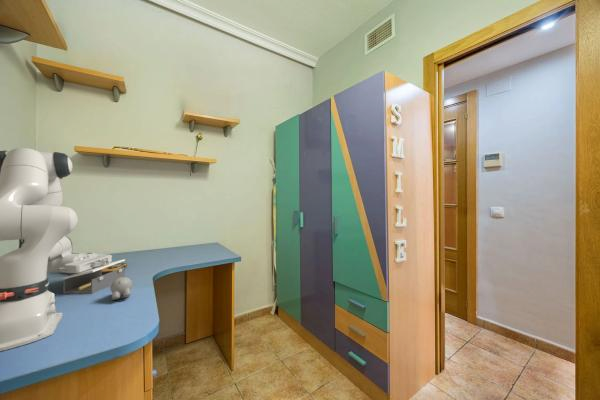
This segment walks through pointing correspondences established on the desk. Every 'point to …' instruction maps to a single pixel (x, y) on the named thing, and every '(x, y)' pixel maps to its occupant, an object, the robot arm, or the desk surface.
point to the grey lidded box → (91, 282)
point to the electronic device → (113, 268)
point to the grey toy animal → (121, 288)
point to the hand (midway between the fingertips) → (107, 263)
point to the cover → (93, 269)
